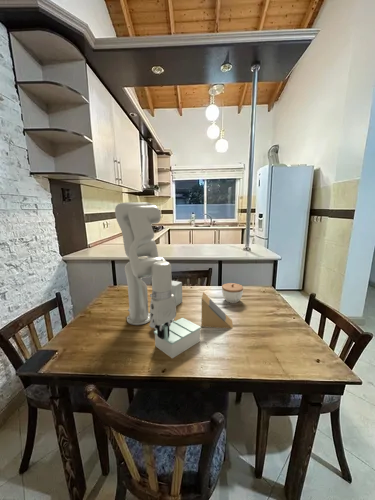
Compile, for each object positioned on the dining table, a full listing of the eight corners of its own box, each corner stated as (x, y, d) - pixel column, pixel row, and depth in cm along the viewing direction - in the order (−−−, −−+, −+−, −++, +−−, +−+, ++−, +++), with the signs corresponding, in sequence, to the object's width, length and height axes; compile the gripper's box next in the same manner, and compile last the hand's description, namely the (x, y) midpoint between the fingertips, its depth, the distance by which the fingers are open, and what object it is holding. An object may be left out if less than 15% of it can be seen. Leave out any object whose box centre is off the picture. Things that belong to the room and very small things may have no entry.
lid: (153, 333, 97) (153, 320, 95) (182, 319, 108) (182, 307, 107) (171, 345, 88) (171, 331, 87) (201, 328, 100) (201, 316, 99)
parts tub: (155, 346, 98) (154, 333, 97) (182, 331, 109) (182, 319, 108) (172, 358, 90) (172, 344, 89) (200, 341, 101) (200, 328, 100)
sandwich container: (233, 329, 111) (234, 300, 108) (201, 326, 113) (201, 298, 110) (232, 320, 119) (233, 292, 116) (202, 318, 121) (202, 291, 118)
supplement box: (182, 301, 141) (182, 282, 138) (175, 306, 135) (175, 286, 132) (173, 299, 145) (172, 280, 142) (165, 303, 139) (165, 283, 136)
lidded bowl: (227, 294, 151) (227, 278, 148) (245, 299, 143) (246, 282, 141) (218, 301, 141) (218, 284, 138) (237, 306, 133) (238, 288, 131)
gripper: (150, 302, 81) (152, 349, 85) (183, 290, 92) (184, 332, 96) (138, 296, 86) (141, 340, 90) (171, 285, 97) (172, 325, 101)
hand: (163, 335), depth 93 cm, fingers closed
